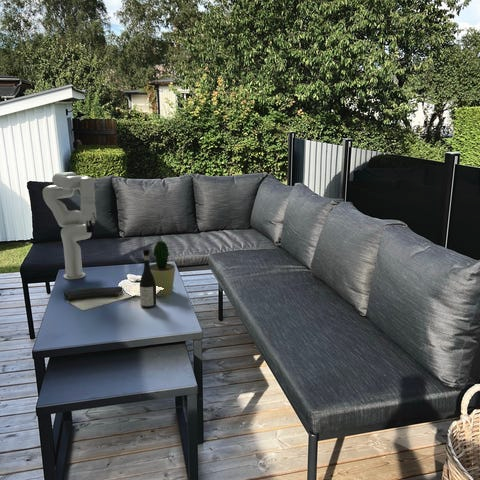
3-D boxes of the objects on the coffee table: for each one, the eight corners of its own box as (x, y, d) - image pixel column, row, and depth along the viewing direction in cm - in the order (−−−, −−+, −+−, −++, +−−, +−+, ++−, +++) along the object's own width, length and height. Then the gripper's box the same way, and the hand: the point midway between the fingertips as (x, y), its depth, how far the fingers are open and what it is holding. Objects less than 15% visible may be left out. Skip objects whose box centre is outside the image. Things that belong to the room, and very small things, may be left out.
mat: (66, 301, 253) (66, 300, 253) (121, 287, 275) (121, 286, 275) (82, 310, 240) (82, 310, 240) (139, 295, 263) (139, 294, 263)
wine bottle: (152, 309, 243) (150, 252, 236) (138, 308, 244) (135, 251, 237) (158, 303, 250) (156, 248, 243) (144, 302, 252) (141, 247, 245)
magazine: (58, 302, 250) (116, 302, 251) (58, 296, 249) (116, 296, 250) (69, 291, 266) (123, 291, 267) (69, 285, 266) (123, 285, 266)
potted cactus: (145, 289, 271) (143, 238, 264) (172, 286, 277) (171, 235, 270) (150, 298, 257) (148, 244, 250) (178, 295, 263) (177, 242, 256)
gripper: (75, 198, 267) (77, 230, 272) (88, 202, 257) (90, 235, 262) (87, 197, 273) (89, 228, 277) (100, 200, 262) (102, 233, 267)
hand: (90, 232), depth 269 cm, fingers closed
